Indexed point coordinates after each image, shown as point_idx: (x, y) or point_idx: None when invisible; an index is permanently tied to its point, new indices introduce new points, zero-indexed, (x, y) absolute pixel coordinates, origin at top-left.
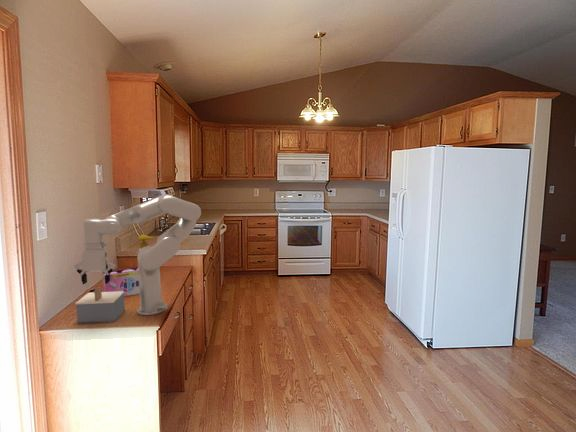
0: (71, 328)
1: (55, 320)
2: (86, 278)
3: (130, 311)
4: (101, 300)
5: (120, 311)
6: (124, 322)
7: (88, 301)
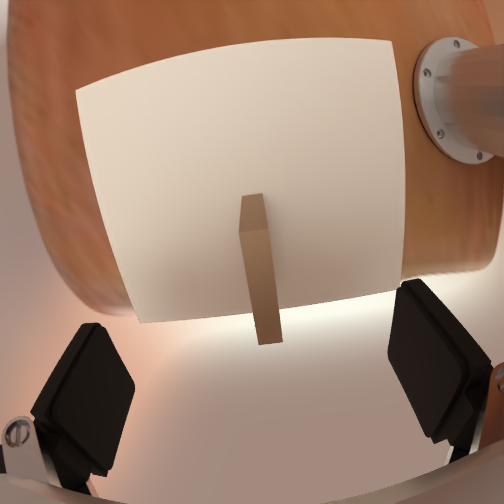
0: None
1: (54, 222)
2: (89, 377)
3: None
4: (304, 274)
5: None
6: None
7: (210, 296)
